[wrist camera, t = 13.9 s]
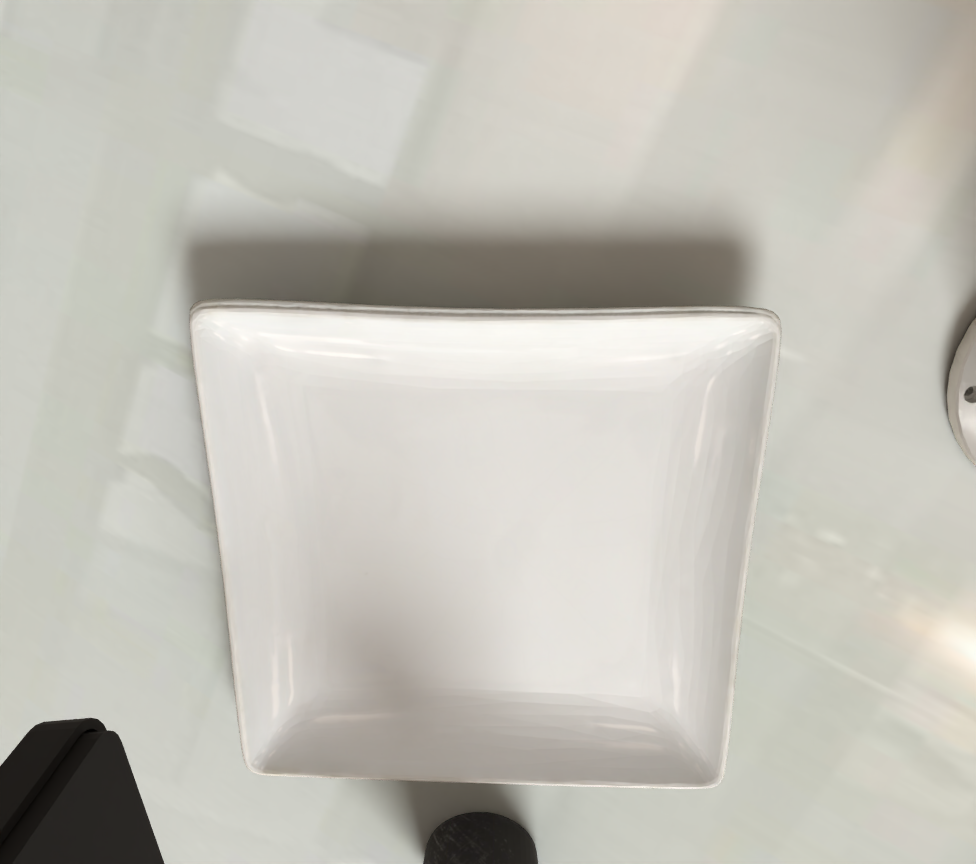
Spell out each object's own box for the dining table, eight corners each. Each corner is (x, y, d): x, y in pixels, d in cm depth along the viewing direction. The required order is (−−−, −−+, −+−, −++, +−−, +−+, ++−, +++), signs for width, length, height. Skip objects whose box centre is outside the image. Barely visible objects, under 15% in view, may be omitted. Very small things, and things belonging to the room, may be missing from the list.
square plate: (765, 291, 39) (790, 308, 35) (709, 748, 49) (724, 798, 45) (208, 286, 40) (177, 302, 36) (260, 736, 49) (240, 784, 46)
